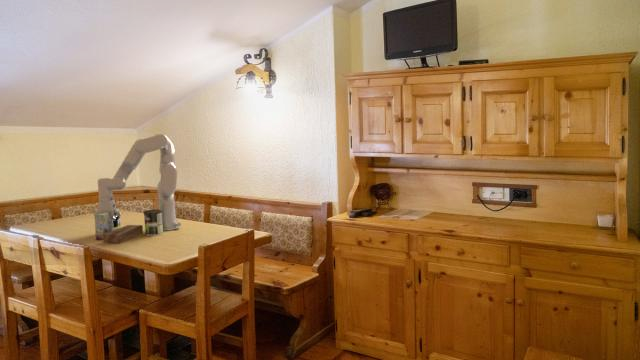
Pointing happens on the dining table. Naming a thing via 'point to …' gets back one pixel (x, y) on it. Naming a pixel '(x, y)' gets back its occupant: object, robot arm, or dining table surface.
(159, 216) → the coffee can
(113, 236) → the walnut block
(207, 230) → the dining table surface
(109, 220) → the snack box
